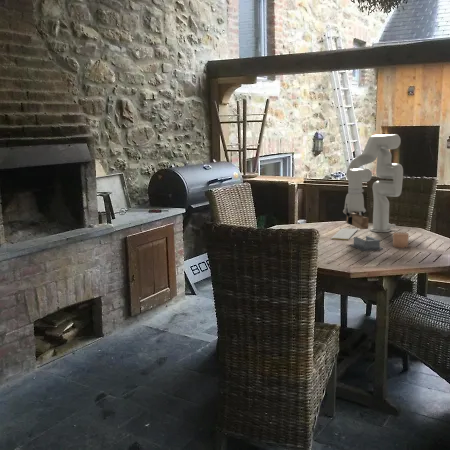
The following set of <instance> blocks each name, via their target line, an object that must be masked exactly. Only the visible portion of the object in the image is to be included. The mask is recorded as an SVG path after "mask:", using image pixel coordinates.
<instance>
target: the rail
mask: <svg viewBox="0 0 450 450" xmlns="http://www.w3.org/2000/svg"><path fill="white" fill-rule="evenodd" d="M351 217H352V224H348V217H347V216H346V224H348V225H349V226H350V225H351V227H354V228H356V229H360V230H369V217H367V216H364V215H363V214H362V215H359V214H357V212H352V216H351Z"/></svg>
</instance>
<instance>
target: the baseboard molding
mask: <svg viewBox="0 0 450 450" xmlns="http://www.w3.org/2000/svg"><path fill="white" fill-rule="evenodd" d="M358 230H359V228H354V226H352V225H351V226H350V225H349V226H347V227H343V228H341V227H339V230H338V231H337V232H336V233H335V234H333V236H332V237H330V240H337V241H338V240H339V241H349V240H350V239H352V237H353V236H355V234H356V233H357V231H358Z"/></svg>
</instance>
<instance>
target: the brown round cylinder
mask: <svg viewBox="0 0 450 450" xmlns="http://www.w3.org/2000/svg"><path fill="white" fill-rule="evenodd" d="M409 236H410V235H409V233H408V232H405V231H397V232H393V233H392V246H393V247H394V248H397V249H398V248H401V249H405V248H404V247H406V248H408V247H409Z"/></svg>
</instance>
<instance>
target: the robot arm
mask: <svg viewBox="0 0 450 450" xmlns="http://www.w3.org/2000/svg"><path fill="white" fill-rule="evenodd" d="M401 140H402V139H401V137H400V136H399V134H397V133H394V134H393V133H391V134H386V133H383V134H382V133H381V134H373V135H371V136H370V137H369V138H368V139H367V142H366V144H365V146H364V149H363V151H362V153H361V154H359V155H358V156H355V158H354V159H353V160H351V161H350V163H349V165H348V167H347V169H346V173H345V176H346V179H347V181H348V187H347V188H348V190H347V191H348V192H347V194H346V196H345V201H344V207H343V208H344V209H343V210H342V212H343V214H345V215H346V218H347V217H348V225H350V224H352V217H351V216H352V213H356V214H359V215H362V216H363V214H364V213H366V212H367V210H366V208H365V200H364V199H365V198H364V194H363V193H364V192H365V189H363V183H367V182H369V181H371V179H372V178H373V172H372V171H371V169H368V168H360V167H362V166H366V165H368V164H371V163H373V162H375V161H376V169H375V173H376V177H378V178H379V179H380V180H376V181H374V182H373V184H372V195H373V208H372V209H373V210H372V227H370V229H369V230H370V231H371V232H374V233H388V232H391V231H392V228H395V227H396V223H392V224H391V223H389V222H390V221H389V220H390V201H389V199H388V198H387V197H390V198H391V197H392V198H393V197H395V198H396V197H397V198H398V197H400V196H401V195H402V190H403V182H404V181H403V179H404V177H403V176H404V168H403V166H402V164H400V163H396V162H392V152H391V151H390V150H395V149H398V148H399V147H400V146H401ZM381 179H392V180H381Z"/></svg>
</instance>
